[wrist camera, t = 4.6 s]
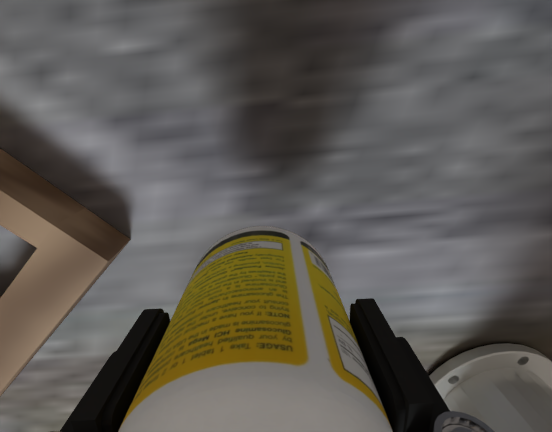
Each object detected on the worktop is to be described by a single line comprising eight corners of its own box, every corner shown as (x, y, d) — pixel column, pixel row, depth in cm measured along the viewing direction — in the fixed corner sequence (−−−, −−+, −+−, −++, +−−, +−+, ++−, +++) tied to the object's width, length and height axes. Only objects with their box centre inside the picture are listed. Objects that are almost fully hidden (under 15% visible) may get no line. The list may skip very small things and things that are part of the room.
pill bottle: (176, 312, 14) (-98, 884, 4) (226, 199, 12) (-21, 647, 2) (293, 355, 15) (348, 909, 4) (353, 255, 13) (668, 765, 3)
